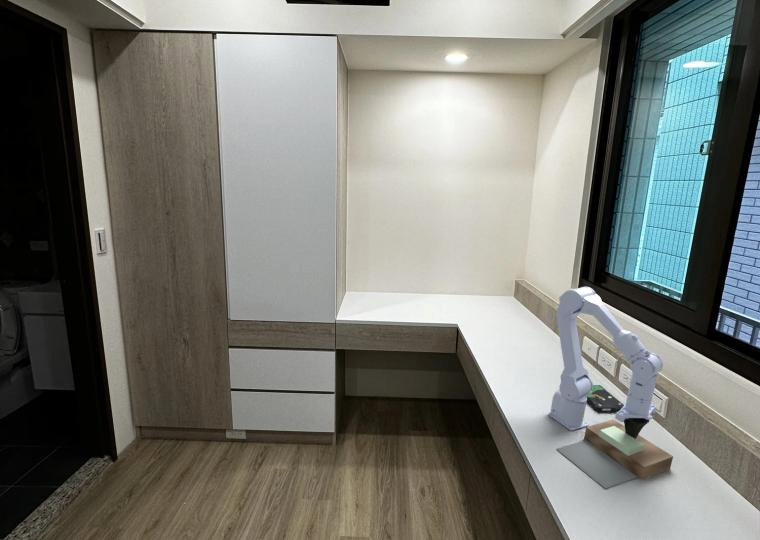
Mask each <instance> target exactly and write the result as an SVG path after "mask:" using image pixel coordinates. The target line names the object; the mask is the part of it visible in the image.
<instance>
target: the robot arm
mask: <svg viewBox="0 0 760 540" xmlns="http://www.w3.org/2000/svg"><path fill="white" fill-rule="evenodd" d="M580 314H585V315H589V316H592V317H594V319H595V320H596V321H598V323H599V324H600V325H601V326H602V327H603V328H604V329H605V330H606V331H607V332H608V333H609V334H610V335H611V336H612V342H613V345H614V347H616V349H618V351H619V352H620V353H621V354H622V355H623V357H624V358H625V359H626V360H627V361H628V362H629V363H630V367H629V368H630V370H631V372H632V375H631V378H630V383H629V388H628V392H627V396H626V401H625V404H623V405H624V406H623V408H622V409H621V410H620V411H619V412H616V413H615V415H614V420H615V419H616V421H617V422H619V423H623V424H624V426H625V433H627V434H628V435H630V436H631V437H633V438H634V439H636V437H637V436H638V435H640V433H641V430H643V428H644V427H645V426H647V424H648V423H650V420H652V419H653V415H652V414H655V413H657V412H656V411H657V406H656V405H655V404H654V403H652V401H653V396H654V392H655V389H656V385H657V384H656V383H657V378H658V375H657V374H659V373H660V372H661V371H662V369H663V365H664V364H663V361H662V358H660V356H659V354H657V353H654V352H652V351H651V350H650V349H647V347H645V345H644V344H643V343H642V342H641V341H640V337H639V336H638V335H637V333H635V334H634V333H633V332H632V331H630V330H625V328H623V327H622V326H621V324H620V323H619V322H618V320H617V319H616V318H615V317H614V315H613V314H612V313H611V312H610V310H609V309H608V308H607V307H606V305H605V304H604V303H603V301H602V298H601V297H600V295H598V294H597V293H596V291H595V290H594V289H593V288H591V287H589V286H581V287H579V288H574V289H568V290H565V291H564V293H562V294H561V295H560V296H559V303H558V306H557V309H556V314H555V316H556V321H557V322H556V323H557V327H558V328H557V329H558V335H559V341H560V348H561V355H562V360H563V367H564V368H563V371H562V373H561V374H560V384H559V389H557V390H556V391H554V394H553V397H552V401H551V405H550V406H551V407H550V412H548V416H550V417H551V418H552V419H554V420H555V421H557V422H558V423H559V424H561V425H562V426H563V427H566V429H567V430H569V431H575V430H580V429H582V428H586V427H588V426H590V425H589V423H588V422H586V421H584V416H585V411H586V406H587V394H588V393H589V392H591V391H592V389H593V385H594V383H593V381H592V378H591V377H590V375H589V371H588V370H587V369H586V368H585V367H584V364H583V358H582V352H581V344H580V340H579V339H580V338H579V333H578V327H577V326H578V325H577V320H576V318H577V317H578V316H579V315H580Z"/></svg>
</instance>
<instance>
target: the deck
mask: <svg viewBox="0 0 760 540" xmlns="http://www.w3.org/2000/svg"><path fill="white" fill-rule="evenodd" d="M612 426H615V427H617V428H619V429H620V430H622V431H623V432H625V425H623V424H622V423H621V422H620V421H618V420H615V418H614V419H610V420H607V421H603V422H599V423H596V424H591V425H589V426H586V427H585V432H584V436H583V439H584V440H587V441H588V442H590V443H591V444H593V445H594V446H595V447H597V448H598V449H599V450H601V451H602V452H604V453H605V454H606V455H608V456H609V457H611V458H612V459H613V460H615V461H616V462H618V463H619V464H620V465H622V466H623V467H625V468H626V469H627V470H629V471H630V472H631V473H633V474H634V475H636V476H637V478H638V479H639V480H644V479H647V478H650V477H653V476H655V475H657V474H661V473H663V472H666V471H668V470H671V467H672V462H673V459H674V456H673V455H672V454H670V453H668V452H667V451H666V450H663V449H662V448H660V447H659V446H657V445H656V444H654V443H652V442H651V441H649V440H648V439H646V438H644V437H643V436H642V435H640V434H638V436H637V437H636V440H638V441H639V442H641V443H642V444H644V447H643V451H641V452H638V453H635V454H632V455H629V456H628V455H626V454H625V453H623V452H622V451H620V450H619V449H617V448H616V447H614V446H613V445H611V444H610V443H608V442H607V441H606V440H604V439H603V438H601V437H600V436H599V433H600V430H602V429H605V428H609V427H612Z"/></svg>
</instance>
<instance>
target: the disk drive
mask: <svg viewBox="0 0 760 540" xmlns="http://www.w3.org/2000/svg"><path fill="white" fill-rule="evenodd" d="M586 404H587V405H589V406H590V407H591V408H592V409H593V410H594V411H595V412H596V413H597V414H616V412H619V411H620V410H621V409H622V408H623V406H624V405H625V404H624V403H623V402H621V401H620V400H619V399H617V397H615V396H614V395H613V394H611V392H609V391H608V390H607V389H606V388H604V387H603V386H602V385H601V384H597V385H596V384H593V389H592V391H591V392H589V393H588V394H587V402H586Z"/></svg>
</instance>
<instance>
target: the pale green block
mask: <svg viewBox="0 0 760 540" xmlns="http://www.w3.org/2000/svg"><path fill="white" fill-rule="evenodd" d="M599 436H600V437H601V438H603V439H604V440H606V441H607V442H608V443H610V444H611V445H613V446H614V447H616V448H617V449H619V450H620V451H622V452H623V453H625V454H626V455H628V456H629V455H632V454H635V453H638V452H641V451H643V447H644V444H642V443H641V442H639V441H638V440H636V439H634V438H633V437H631V436H630V435H628V434H627V433H625V432H623V431H622V430H620V429H619V428H617V427H615V426H612V427H609V428H605V429H602V430H600V433H599Z"/></svg>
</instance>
